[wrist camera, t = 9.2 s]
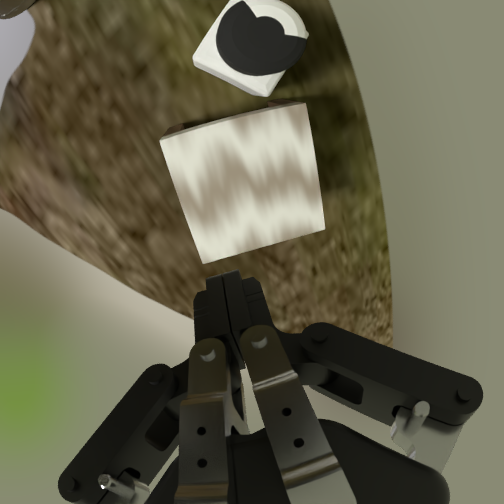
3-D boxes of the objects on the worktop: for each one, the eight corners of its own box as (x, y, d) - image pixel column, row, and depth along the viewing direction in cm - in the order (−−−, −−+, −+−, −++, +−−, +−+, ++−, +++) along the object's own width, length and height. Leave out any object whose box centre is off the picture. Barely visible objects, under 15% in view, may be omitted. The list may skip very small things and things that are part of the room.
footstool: (159, 140, 22) (305, 103, 22) (169, 127, 29) (280, 98, 29) (203, 263, 28) (325, 229, 28) (201, 226, 35) (300, 198, 35)
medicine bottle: (253, 96, 28) (284, 101, 18) (192, 65, 26) (188, 51, 15) (288, 42, 26) (335, 23, 15) (228, 10, 23) (245, -30, 13)
